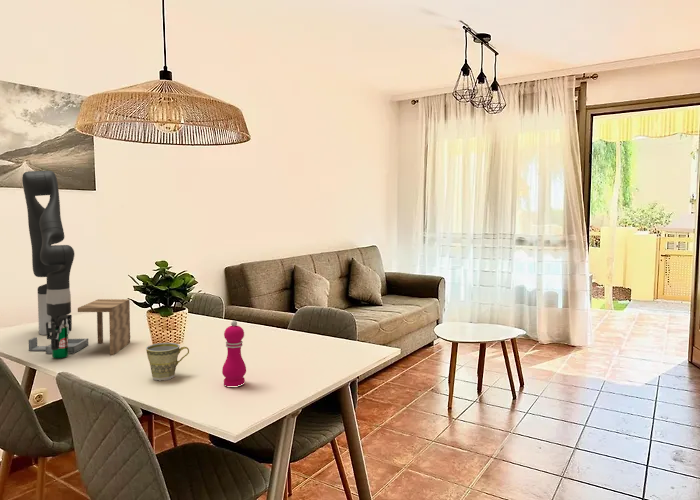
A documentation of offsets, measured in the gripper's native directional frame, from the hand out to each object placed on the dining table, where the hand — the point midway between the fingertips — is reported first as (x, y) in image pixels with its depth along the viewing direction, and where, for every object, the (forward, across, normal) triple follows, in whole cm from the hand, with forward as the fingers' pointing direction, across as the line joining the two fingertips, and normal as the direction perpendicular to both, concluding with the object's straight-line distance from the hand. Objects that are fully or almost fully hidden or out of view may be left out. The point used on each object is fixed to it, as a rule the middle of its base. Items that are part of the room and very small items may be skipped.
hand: (60, 346), depth 181 cm
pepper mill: (+4, +31, +66) cm, 73 cm away
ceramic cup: (+4, +23, +44) cm, 50 cm away
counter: (+4, -11, +12) cm, 16 cm away
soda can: (+4, 0, 0) cm, 4 cm away
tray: (+4, -10, -6) cm, 12 cm away
